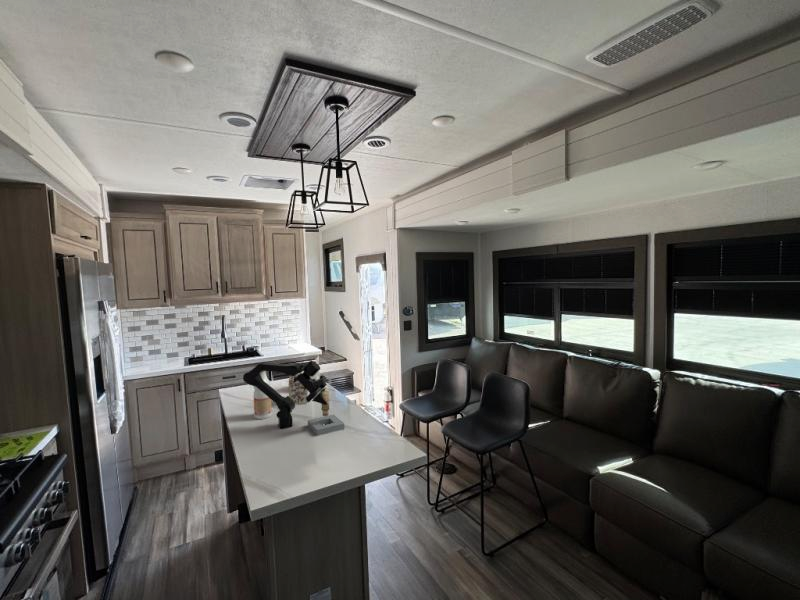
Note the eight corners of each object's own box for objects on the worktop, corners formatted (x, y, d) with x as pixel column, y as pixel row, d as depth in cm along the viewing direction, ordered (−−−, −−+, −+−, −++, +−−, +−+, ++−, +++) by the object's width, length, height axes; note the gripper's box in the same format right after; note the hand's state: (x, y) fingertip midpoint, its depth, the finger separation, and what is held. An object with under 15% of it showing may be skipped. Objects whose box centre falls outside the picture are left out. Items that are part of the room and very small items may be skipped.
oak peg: (325, 417, 197) (325, 393, 196) (319, 415, 199) (319, 392, 198) (331, 414, 200) (330, 391, 199) (325, 412, 203) (325, 390, 202)
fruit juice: (262, 420, 210) (260, 372, 208) (250, 417, 215) (248, 370, 213) (275, 414, 219) (273, 368, 217) (263, 412, 223) (261, 366, 221)
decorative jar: (288, 405, 234) (287, 377, 232) (289, 399, 245) (288, 372, 244) (308, 403, 237) (307, 376, 235) (308, 397, 248) (307, 371, 247)
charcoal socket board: (317, 435, 190) (317, 430, 190) (307, 425, 203) (307, 420, 202) (344, 428, 198) (344, 423, 198) (333, 419, 211) (333, 414, 210)
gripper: (311, 376, 189) (333, 398, 189) (322, 367, 208) (342, 387, 207) (296, 391, 191) (318, 413, 190) (309, 381, 209) (329, 400, 209)
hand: (327, 403), depth 199 cm, fingers closed on oak peg, 4 cm apart
